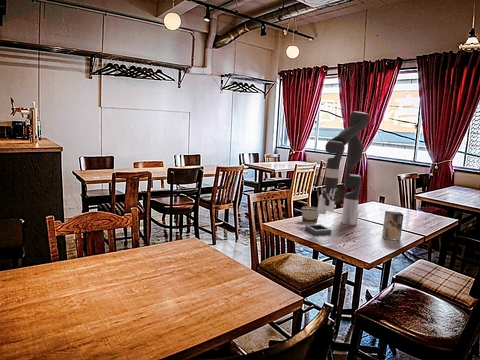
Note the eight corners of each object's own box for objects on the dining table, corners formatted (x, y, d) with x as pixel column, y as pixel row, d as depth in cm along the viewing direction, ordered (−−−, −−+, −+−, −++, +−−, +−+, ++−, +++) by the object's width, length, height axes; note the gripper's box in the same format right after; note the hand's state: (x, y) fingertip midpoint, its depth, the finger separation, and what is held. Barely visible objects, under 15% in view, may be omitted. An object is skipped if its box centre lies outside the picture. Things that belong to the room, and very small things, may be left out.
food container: (317, 221, 249) (319, 207, 247) (318, 224, 243) (320, 209, 241) (299, 219, 250) (300, 205, 248) (299, 222, 244) (301, 207, 242)
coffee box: (397, 237, 225) (401, 212, 222) (400, 241, 218) (404, 214, 216) (381, 236, 226) (385, 210, 223) (384, 239, 219) (387, 213, 217)
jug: (315, 211, 221) (317, 195, 218) (321, 210, 223) (324, 194, 221) (327, 217, 212) (330, 201, 209) (334, 216, 215) (337, 200, 212)
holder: (321, 227, 236) (322, 221, 235) (341, 237, 218) (342, 231, 217) (294, 228, 228) (295, 223, 228) (312, 239, 210) (313, 233, 210)
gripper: (327, 177, 205) (324, 208, 208) (345, 176, 212) (341, 206, 215) (318, 175, 211) (315, 205, 214) (335, 174, 218) (332, 203, 221)
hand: (328, 205), depth 215 cm, fingers closed on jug
